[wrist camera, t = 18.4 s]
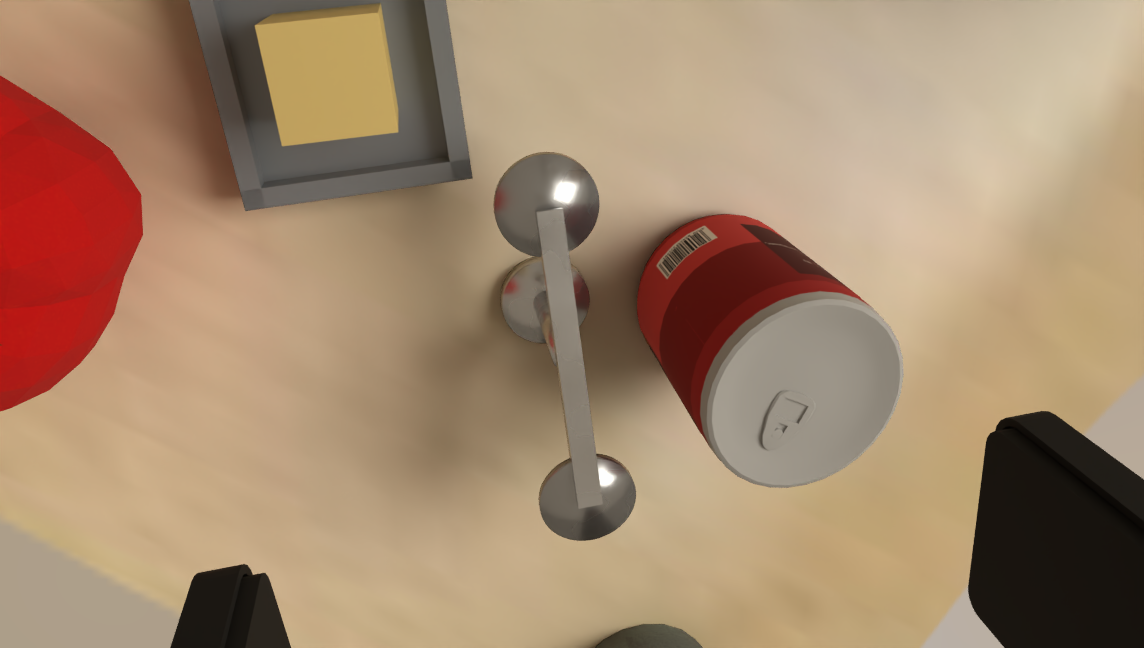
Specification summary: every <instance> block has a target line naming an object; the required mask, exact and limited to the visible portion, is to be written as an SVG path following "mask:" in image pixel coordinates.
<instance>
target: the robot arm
mask: <svg viewBox="0 0 1144 648" xmlns="http://www.w3.org/2000/svg"><path fill="white" fill-rule="evenodd" d="M968 592H969V598H970V601H971V604H972V607H973V609H974V611H975V612H976V614H977V615H978V617H979V618H980V619H981V620H982V621H983V623H984V624H985V625H986V626H987V627H988V629H989V630H990V631H991V632H992V633H993V635H994V636H995V637H996V638H997V639H998V640H999V642H1000V643H1001V644H1002V645H1003V646H1004V648H1144V480H1143V479H1142V478H1141V477H1139V476H1138V475H1137V474H1135V473H1134V472H1132V471H1131V470H1130V469H1129V468H1127V467H1126V466H1124V465H1123V464H1122V463H1120V462H1119V461H1118V460H1116V459H1115V458H1113V457H1112V456H1111V455H1109V454H1108V453H1107V452H1105V451H1104V450H1103V449H1101V448H1100V447H1099V446H1097V445H1095V444H1094V443H1093V442H1092V441H1090V440H1089V439H1088V438H1086V437H1085V436H1084V435H1082V434H1081V433H1079V432H1078V431H1077V430H1075V429H1074V428H1073V427H1071V426H1070V425H1068V424H1067V423H1066V422H1064V421H1063V420H1062V419H1060V418H1059V417H1058V416H1056V415H1054V414H1053V413H1051V412H1048V411H1040V412H1035V413H1030V414H1024V415H1019V416H1014V417H1009V418H1005V419H1003V420H1001V421H1000V422H999V423H998V425H997V427H996V431H995V432H992V433H990V435H989V436H988V438H987V441H986V448H985V456H984V464H983V472H982V480H981V488H980V496H979V504H978V512H977V521H976V529H975V537H974V545H973V553H972V561H971V569H970V577H969V585H968ZM171 648H291V646H290V643H289V640H288V637H287V633H286V630H285V627H284V624H283V621H282V618H281V614H280V611H279V608H278V605H277V602H276V599H275V595H274V592H273V589H272V586H271V583H270V580H269V578H268V576H267V575H266V574H265V573H261V574H256V575H253V574H252V572H251V570H250V568H249V567H248V565H245V564H243V565H237V566H232V567H227V568H222V569H216V570H211V571H206V572H201V573H197V574H196V575H195V576H194V578H193V580H192V582H191V585H190V588H189V591H188V594H187V598H186V601H185V604H184V607H183V610H182V613H181V616H180V619H179V623H178V626H177V629H176V632H175V635H174V638H173V641H172V644H171Z"/></svg>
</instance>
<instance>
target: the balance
mask: <svg viewBox="0 0 1144 648" xmlns="http://www.w3.org/2000/svg"><path fill="white" fill-rule="evenodd" d="M598 213H599V195H598V191H597V187H596V185H595V183H594V180H593V179H592V177H591V176H590V174H589V173H588V172H587V171H586V169H585V168H584V167H583V166H582V165H581V164H580V163H578V162H577V161H576V160H574V159H572V158H570V157H568V156H566V155H563V154H560V153H554V152H540V153H535V154H532V155H529V156H526V157H524V158H522V159H520V160H519V161H517V162H516V163H514V164H513V165H512V166H511V167H510V168H509V169H508V170H507V171H506V172H505V173H504V175H503V176H502V178H501V179H500V181H499V183H498V185H497V188H496V191H495V195H494V214H495V219H496V222H497V225H498V227H499V229H500V231H501V233H502V235H503V236H504V238H505V239H506V240H507V241H508V242H509V243H510V244H511V245H512V246H513V247H515V248H516V249H518V250H519V251H521V252H523V253H526V254H528V255H532V256H537V257H532V258H530V259H527V260H525V261H523V262H521V263H520V264H518V265H517V266H516V267H515V268H513V270H512V271H511V272H510V273H509V274H508V276H507V277H506V279H505V281H504V283H503V286H502V289H501V296H500V300H501V307H502V311H503V314H504V317H505V320H506V322H507V324H508V325H509V327H510V328H511V329H512V330H513V331H514V332H515V333H516V334H517V335H518V336H520V337H522V338H524V339H526V340H528V341H532V342H537V343H547V346H548V348H549V351H550V354H551V357H552V360H553V362H554V364H555V366H556V367H557V371H558V378H559V385H560V392H561V399H562V406H563V413H564V420H565V427H566V434H567V441H568V448H569V455H570V458H569V459H567V460H565V461H563V462H562V463H560V464H558V465H557V466H556V467H555V468H553V470H552V471H551V472H550V473H549V474H548V475H547V476H546V478H545V480H544V481H543V483H542V486H541V488H540V492H539V507H540V511H541V515H542V518H543V520H544V522H545V523H546V525H547V526H548V527H549V528H550V529H551V530H552V531H553V532H554V533H556V534H558V535H559V536H562V537H564V538H567V539H571V540H579V541H585V540H593V539H597V538H600V537H603V536H605V535H607V534H609V533H611V532H613V531H614V530H616V529H617V528H618V527H620V526H621V525H622V524H623V523H624V522H625V521H626V519H627V518H628V517H629V515H630V514H631V512H632V510H633V507H634V504H635V499H636V489H635V485H634V482H633V479H632V477H631V475H630V473H629V471H628V470H627V468H626V467H625V466H624V465H623V464H622V463H620V462H619V461H618V460H616V459H614V458H612V457H609V456H607V455H602V454H596V449H595V442H594V435H593V427H592V420H591V413H590V405H589V398H588V390H587V383H586V376H585V368H584V361H583V353H582V346H581V339H580V331H579V326H580V325H581V323H582V322H583V320H584V319H585V317H586V314H587V312H588V308H589V291H588V288H587V285H586V283H585V281H584V279H583V277H582V276H581V274H580V272H579V271H578V270H577V269H576V268H575V267H574V266H573V265H572V264H571V263H570V258H569V251H571V250H573V249H574V248H576V247H577V246H579V245H580V244H581V243H582V242H583V241H584V240H585V239H586V238H587V237H588V235H589V234H590V233H591V231H592V229H593V227H594V226H595V223H596V220H597V217H598Z"/></svg>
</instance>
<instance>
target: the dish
mask: <svg viewBox="0 0 1144 648" xmlns="http://www.w3.org/2000/svg"><path fill="white" fill-rule="evenodd" d="M189 3H190V7H191V10H192V14H193V18H194V21H195V25H196V29H197V33H198V36H199V40H200V44H201V48H202V51H203V55H204V59H205V62H206V66H207V70H208V74H209V77H210V81H211V85H212V88H213V92H214V96H215V100H216V103H217V107H218V111H219V115H220V118H221V122H222V126H223V129H224V133H225V137H226V141H227V144H228V148H229V152H230V155H231V159H232V163H233V167H234V170H235V174H236V178H237V182H238V185H239V189H240V193H241V196H242V200H243V204H244V208H245V211H249V210H256V209H263V208H270V207H277V206H284V205H291V204H298V203H305V202H312V201H319V200H326V199H333V198H340V197H347V196H353V195H360V194H367V193H374V192H381V191H388V190H395V189H402V188H409V187H416V186H423V185H430V184H437V183H444V182H451V181H458V180H465V179H472V171H471V165H470V158H469V151H468V145H467V138H466V131H465V125H464V118H463V111H462V105H461V98H460V91H459V85H458V78H457V71H456V65H455V58H454V52H453V45H452V38H451V32H450V25H449V18H448V12H447V5H446V0H189ZM376 3H381V8H382V14H383V20H384V26H385V32H386V38H387V44H388V50H389V56H390V62H391V68H392V74H393V80H394V86H395V92H396V98H397V104H398V132H397V133H389V134H380V135H372V136H364V137H356V138H347V139H339V140H331V141H323V142H314V143H306V144H298V145H290V146H282V144H281V140H280V135H279V131H278V126H277V122H276V118H275V113H274V109H273V104H272V100H271V96H270V91H269V87H268V82H267V78H266V73H265V69H264V65H263V60H262V56H261V51H260V47H259V43H258V38H257V34H256V29H255V25H256V24H258V23H259V22H261V21H262V20H264V19H266V18H267V17H269V16H270V15H272V14H278V13H287V12H297V11H307V10H317V9H327V8H337V7H346V6H356V5H366V4H376Z"/></svg>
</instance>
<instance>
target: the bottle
mask: <svg viewBox="0 0 1144 648" xmlns="http://www.w3.org/2000/svg"><path fill="white" fill-rule="evenodd" d="M596 648H703V647H702V646H701V645H700V644H699V643H698V642H697V641H696V640H695V639H694V638H693V637H691V636H690V635H688V634H687V633H686V632H684V631H683V630H681V629H678V628H674V627H671V626H668V625H664V624H643V625H640V626H636V627H632V628H628V629H624V630H622V631H620V632H618V633H616V634H614V635H612V636H610V637H608V638H606V639H605V640H603V641H602V642H601V643H600V644H599V645H598V646H597V647H596Z"/></svg>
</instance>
